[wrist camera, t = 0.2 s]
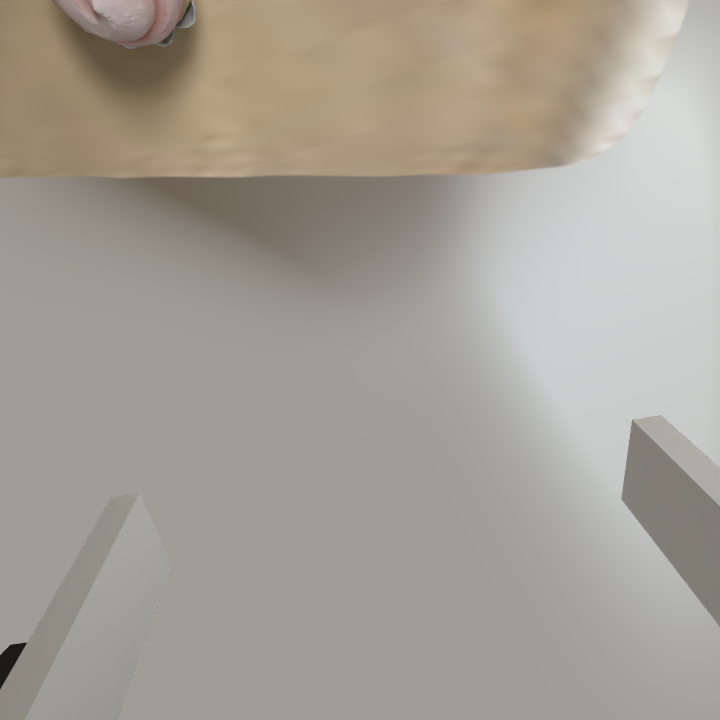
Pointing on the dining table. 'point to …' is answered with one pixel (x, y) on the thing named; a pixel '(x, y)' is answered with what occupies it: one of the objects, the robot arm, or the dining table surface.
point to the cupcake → (131, 19)
